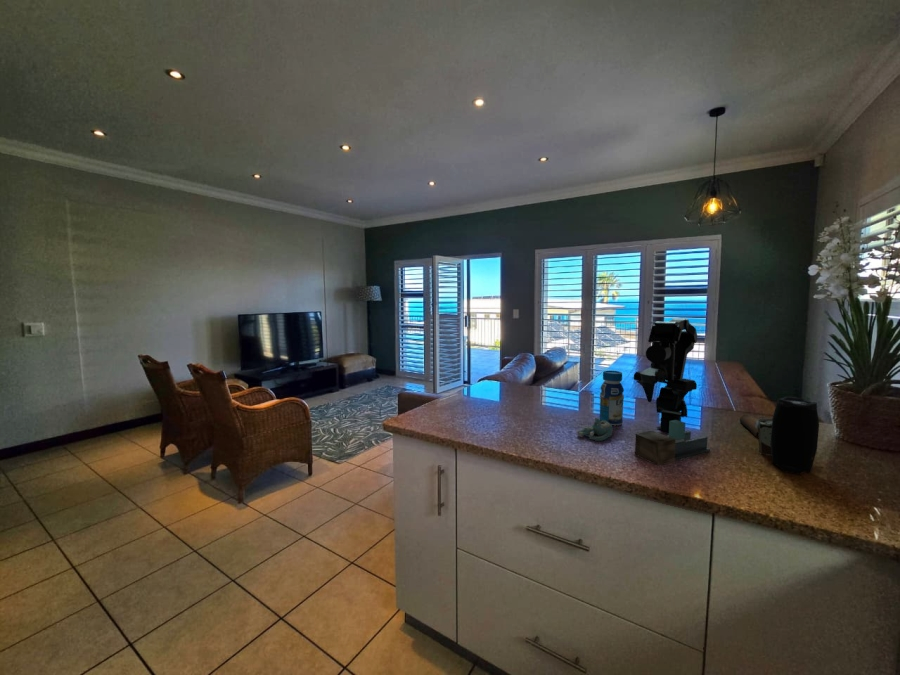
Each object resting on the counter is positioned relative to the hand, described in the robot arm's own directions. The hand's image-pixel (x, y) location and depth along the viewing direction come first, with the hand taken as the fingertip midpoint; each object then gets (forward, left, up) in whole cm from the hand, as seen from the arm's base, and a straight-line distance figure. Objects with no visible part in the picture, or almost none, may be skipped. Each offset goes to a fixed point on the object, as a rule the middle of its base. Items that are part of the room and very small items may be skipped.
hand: (661, 405), depth 120 cm
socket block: (+14, +9, -12) cm, 21 cm away
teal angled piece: (+10, +9, -11) cm, 17 cm away
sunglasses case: (-40, +9, -13) cm, 43 cm away
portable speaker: (-14, +29, -12) cm, 34 cm away
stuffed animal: (+18, -11, -12) cm, 24 cm away
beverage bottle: (+1, -20, -12) cm, 23 cm away
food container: (-23, +21, -12) cm, 33 cm away
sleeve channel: (+3, +9, -12) cm, 15 cm away
